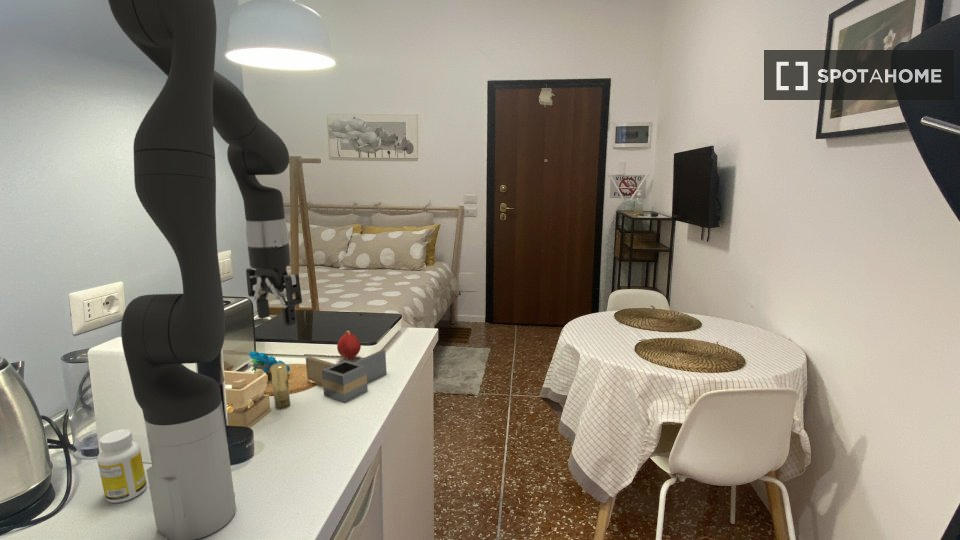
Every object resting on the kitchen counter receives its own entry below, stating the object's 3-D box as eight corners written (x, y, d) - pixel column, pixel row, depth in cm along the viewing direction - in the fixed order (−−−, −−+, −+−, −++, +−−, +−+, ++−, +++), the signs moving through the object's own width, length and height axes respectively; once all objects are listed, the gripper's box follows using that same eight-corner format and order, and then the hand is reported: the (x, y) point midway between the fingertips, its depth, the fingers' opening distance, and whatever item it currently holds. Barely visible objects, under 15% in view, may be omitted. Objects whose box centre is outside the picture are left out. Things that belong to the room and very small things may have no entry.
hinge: (344, 403, 107) (342, 376, 106) (297, 386, 115) (295, 361, 114) (395, 376, 120) (394, 352, 118) (349, 363, 128) (347, 341, 127)
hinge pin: (281, 410, 104) (276, 369, 102) (272, 407, 106) (267, 366, 104) (293, 404, 107) (289, 364, 105) (284, 401, 108) (280, 361, 106)
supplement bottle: (140, 477, 82) (130, 422, 80) (152, 490, 79) (142, 433, 77) (100, 494, 78) (89, 437, 76) (111, 509, 75) (100, 449, 73)
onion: (336, 358, 132) (334, 328, 130) (358, 354, 134) (356, 325, 132) (340, 366, 127) (338, 335, 125) (363, 361, 129) (361, 332, 127)
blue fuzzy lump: (299, 368, 121) (267, 349, 115) (288, 391, 118) (254, 373, 112) (273, 365, 128) (241, 346, 121) (261, 387, 125) (227, 369, 118)
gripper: (229, 242, 100) (239, 320, 103) (273, 248, 92) (282, 332, 96) (263, 236, 106) (271, 310, 109) (307, 242, 98) (315, 321, 102)
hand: (276, 321), depth 102 cm, fingers open, 8 cm apart
